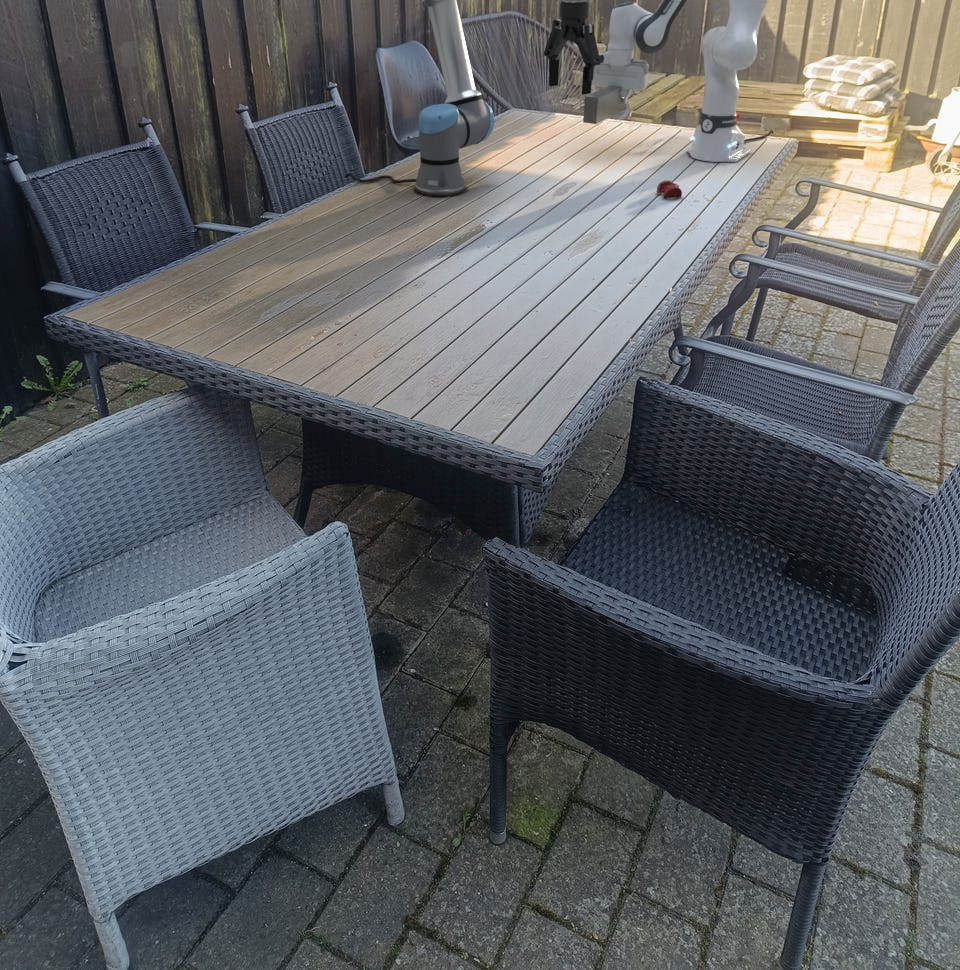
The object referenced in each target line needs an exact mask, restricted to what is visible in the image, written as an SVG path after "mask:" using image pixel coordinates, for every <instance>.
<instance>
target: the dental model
mask: <svg viewBox="0 0 960 970" xmlns="http://www.w3.org/2000/svg"><path fill="white" fill-rule="evenodd" d="M656 194H663V195H662V198H663V200H666V199H678V198H682V196H683V191H682V189H681V187H680V185H679V184H677V183H675V182H673V181H672V180H662V181H661V182H660V183H658V185H657V187H656Z"/></svg>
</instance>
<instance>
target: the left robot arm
mask: <svg viewBox="0 0 960 970" xmlns="http://www.w3.org/2000/svg"><path fill="white" fill-rule="evenodd" d="M420 2H421V4H422V5H424V6H425V7H427V9H428V15H429V18H430V23H431V28H432V32H433V36H434V41H435V45H436V50H437V54H438V59H439V62H440V66H441V67H440V68H441V71H442V76H443V81H444V85H445V90H446V93H447V94H446V95H447V97H446V98H445V101H444V103H439V104H431V105H428V106H426V107H424V108H423V109H422V110H421V111H420V112H419V114H418V115H419V116H418V126H417V127H418V137H419V138H418V139H419V157H420V158H419V159H420V161H419V162H420V164H419V168H418V172H417V176H416V178H408V179H407V178H406V179H395V178H394V177H393V176H392V175H386V174H385V175H378V176H374V177H371V178H366V179H365V178H363V179H362V178H358V177H357V176H356V175H355V174H354V173H352V172H347V173H346V174H345V175H344V178H345V179H346V178H348V177H351V178H352V179H353V180H354V181H356V182H359V183H372V182H375V181H378V180H382V179H389V180H390V181H391V182H392V183H393V184H405V183H414V184H415V185H414V186H415V192H417V193H418V194H420V195H424V196H430V197H450V196H455V195H459V194H461V193H463V192H464V191H466V181H465V179H464V176H463V172H462V169H461V165H460V149H463V148H467V147H470V146H474V145H475V146H476V145H479V144H480V143H482V142H485V141H486V140H487V139H489V137H490V136H491V134H492V133H493V131H494V128H495V114H494V111H493V109H492V107H491V105H489V103H488V102H486V101H484V99H483V95H482V92H480V91H479V90H478V89H477V88H476V85H475V81H474V76H473V70H472V66H471V62H470V57H469V53H468V47H467V42H466V39H465V34H464V29H463V24H462V20H461V15H460V11H459V6H458V0H420ZM589 4H590V3H589V1H587V0H561V1H560V2H559V16H558V17H559V18H556V19H553V20H552V26H551V27H552V28H551V30H550V33H549V36H548V40H547V42H546V45H545V48H544V51H543V56H544V57H547V60H548V87H555V86H559V74H560V59H559V55H560V54H561V52H562V50H563V49H564V47H565V45H566V44H567V42H569V41H570V42H572V43H574V44H575V45H576V46H577V48H578V50H579V51H578V52H579V53H580V56H581V58H582V60H583V63H584V66H583V67H582V81H581V95H589V94H592V86H591V85H592V80H593V74H594V67H595V66H597V65H600V58H599V54H600V53H599V49H598V44H597V41H596V40H597V39H596V36H595V25H594V23H591V24H588V23H587V24H586V19H588V17H589V10H590V9H589V8H590V5H589ZM594 60H595V61H594Z"/></svg>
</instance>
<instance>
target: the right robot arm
mask: <svg viewBox="0 0 960 970" xmlns="http://www.w3.org/2000/svg"><path fill="white" fill-rule="evenodd" d="M687 1H688V0H662V1H661V2H660V4H659V6H658V7H657V9H656V10H655V11H654V13H653V12H650V11H648V10H646V9H645V8H643V7H641V6H640V5H639V4H637V2H636V1H624V2H620V3H617V4H616V5H615V6H613V8H612V11H611V13H610V18H609V24H608V25H609V26H608V37H609V40H608V44H607V50H606V51H603V52H601V53H599V58H600V65H597V66H595V67H594V74H593V80H592V85H591V87H601V88H602V89H603V88H606V87H608V86H615V87H622V89H626V93H627V94H626V96H625V97H623V98H622V103H624V104H626V103H627V104H628V99H629V97H630V95H631V94H632V92H633V91H637V92H643V91H645V90H646V89H647V88H648V74H649V71H650V70H649V69H650V66H649V62H647V61H646V60H645V59H637V58H634V57H635V46H637V47H638V49H639V50H640V51H641V52H643V53H645V54H651V55H652V54H656V53H658V52H660V51H661V50H662V49H663V48H664V47H665V45H666V44H667V42H668V39H669V35H670V30H671V27H672V24H673V23H674V21H675V19H676V18H677V16H678V15H679V13H680V12H681V10H682V8H683V7H684V6H685V4H686V2H687ZM768 3H769V0H729V2H728V7H729V13H728V19H727V24H726V26H725V25H722V26H716V27H713V28H709V30H707V32H705V34H704V35H703V37H702V39H701V42H700V49H701V53H702V56H703V68H704V69H703V70H704V92H703V99H702V106H701V110H700V112H699V116H698V126H696V127H695V128H694V133H693V136H691V137H690V141H692V142H691V146H690V148H688V149H687V153H688V154H689V155H690V157H691V158H692V159H696V160H697V161H698V160H699V161H702V162H703V161H704V162H711V163H712V162H713V163H714V162H715V163H725V162H728V163H730V162H731V163H736V162H738V161H740V160H741V159H743V158H744V157H745V156H748V154H750V149H748V148H747V147H745V146H744V144H745V143H746V142H750V141H756V140H760V139H761V140H762V139H764V138H767V137H769V136H770V135H771V134H774V130H773V129H771V130H770V131H769V132H768V133H767V134H763V135H761V136H757V137H750V138H745V134H744V133H743V132H742V131H741V129H740V128H739V126H738V120H741V118H742V114H743V113H742V112H738V111H737V106H738V100H739V93H740V86H739V83H738V75H737V71H743V70H746V69H748V68H750V67H751V66H752V65H753V64H754V62H755V61H756V58H757V55H758V44H757V43H758V42H757V41H758V35H759V29H760V25H761V22H762V18H763V15H764V12H765V9H766V7H767V5H768ZM594 61H595V60H594Z"/></svg>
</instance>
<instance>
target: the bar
mask: <svg viewBox="0 0 960 970" xmlns="http://www.w3.org/2000/svg"><path fill="white" fill-rule="evenodd" d="M626 94H627V93H626V89H622V87H615V86H608V87H606V88H603V87H602V88H601V89H599V90H596V91H594V92H591V93H590V94H586V95H585V96H584V105H583V117H582V123H585V124H591V125H593V124H594V125H597V124H599V123H602V122H603V121H606V120H607V119H609V118H611V117H613V116H615V115H617V114H620V113H622V112H624V111H626V110H627V105H628V102H627V103H626V104H624V103H622V98H623V97H625V96H626Z"/></svg>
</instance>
